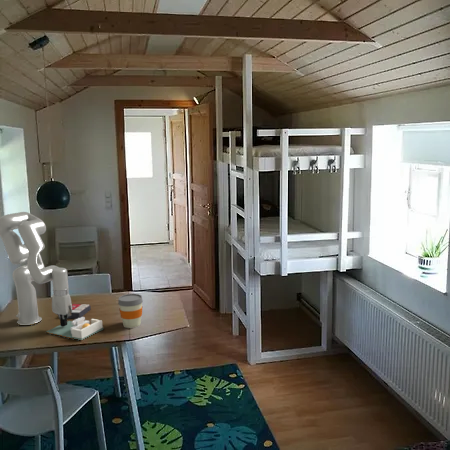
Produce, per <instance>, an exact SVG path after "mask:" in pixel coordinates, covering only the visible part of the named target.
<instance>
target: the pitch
mask: <svg viewBox="0 0 450 450" xmlns="http://www.w3.org/2000/svg"><path fill="white" fill-rule="evenodd" d="M71 322H73V320H67V325H66V326H64V327H62V326H61V325H57V326H55V327H53V328H51V329H48V330H46V331H45V333H46V332H49V333H53V334H57V335H62V336H66V337H70V338H74V339H78V340H77V341H79V340H83V339H84V340H86V339H88V338H90V337H91V335H92V336H94V335H95V333H96V334H97V333H99V332H101V331H103V330H104V327H103V328H101V329H99V330H97V331H96V332H94V333H92V334H90V335H88V336H86V337H84V338H82V339H81V338H76V337H72V334H71V329H70V328H71V327H73V325H72V324H71ZM93 334H94V335H93ZM89 336H90V337H89ZM87 337H88V338H87ZM85 338H86V339H85ZM74 339H73V340H74ZM84 340H83V341H84Z"/></svg>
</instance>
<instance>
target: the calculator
mask: <svg viewBox="0 0 450 450" xmlns="http://www.w3.org/2000/svg"><path fill="white" fill-rule="evenodd" d="M91 310H92V309H91V304H86V303H84V304H83V303H82V304H79V303H77V304H76V303H73V304H72V312H71V316H69V317H68V318H67V320H68V319H69V320H70V319H71V320H76V319H78V318H81V317H84V316H85V315H86V314H87V313H89V312H90V311H91Z"/></svg>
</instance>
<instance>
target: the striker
mask: <svg viewBox="0 0 450 450" xmlns="http://www.w3.org/2000/svg"><path fill="white" fill-rule="evenodd" d="M72 321H73V322H71V324H72V325H73V327H71V328H70V329H73V328H75V329H80V330H81V329H82V326H83V324H85V323H88V324H90V325H91V321H90V320H87V319H86V317H85V316H82V317H81V318H78V319H72ZM71 334H72V330H71Z"/></svg>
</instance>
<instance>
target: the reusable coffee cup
mask: <svg viewBox="0 0 450 450" xmlns="http://www.w3.org/2000/svg"><path fill="white" fill-rule="evenodd" d="M143 301H144V300H143V296H142V295H141V294H138V293H127V294H123V295H121V296H119V297H118V301H117V302H118V304H117V305H118V306H119V314H120V318H121V319H122V320H121V321H122V324H123V327H124V328H127V329H133V328H137V327H140V326H141V323H142V316H143Z"/></svg>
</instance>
